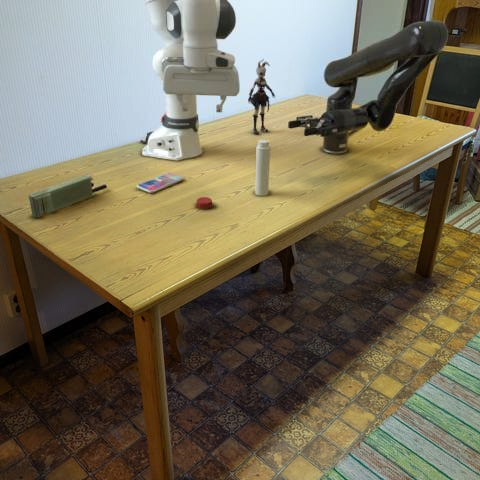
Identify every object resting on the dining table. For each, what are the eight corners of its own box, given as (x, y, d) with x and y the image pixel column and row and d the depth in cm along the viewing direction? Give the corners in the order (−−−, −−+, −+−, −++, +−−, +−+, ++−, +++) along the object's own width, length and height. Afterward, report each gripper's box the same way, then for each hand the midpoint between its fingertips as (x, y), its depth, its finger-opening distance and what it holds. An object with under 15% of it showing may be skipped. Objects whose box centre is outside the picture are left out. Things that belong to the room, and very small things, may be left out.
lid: (195, 203, 152) (195, 197, 151) (210, 202, 153) (210, 196, 152) (197, 209, 148) (197, 204, 147) (213, 208, 149) (213, 202, 148)
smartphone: (184, 177, 167) (150, 191, 157) (184, 180, 167) (151, 194, 157) (168, 171, 171) (134, 185, 161) (168, 174, 171) (135, 188, 161)
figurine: (251, 137, 208) (253, 60, 193) (241, 133, 211) (242, 58, 197) (276, 130, 216) (279, 56, 202) (266, 126, 220) (268, 54, 205)
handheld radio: (30, 215, 144) (102, 188, 161) (37, 219, 142) (109, 191, 159) (26, 193, 140) (100, 168, 157) (33, 197, 138) (107, 171, 155)
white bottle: (267, 196, 157) (270, 143, 149) (254, 195, 158) (256, 143, 149) (268, 190, 161) (270, 139, 153) (255, 190, 161) (257, 138, 153)
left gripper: (158, 58, 128) (161, 113, 135) (238, 61, 127) (238, 115, 133) (163, 54, 133) (166, 107, 140) (240, 56, 132) (240, 109, 139)
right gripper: (325, 105, 165) (284, 111, 158) (354, 115, 155) (311, 122, 148) (323, 127, 169) (283, 134, 162) (351, 139, 158) (309, 147, 151)
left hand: (202, 111), depth 137 cm, fingers open, 8 cm apart
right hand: (296, 128), depth 155 cm, fingers open, 8 cm apart
